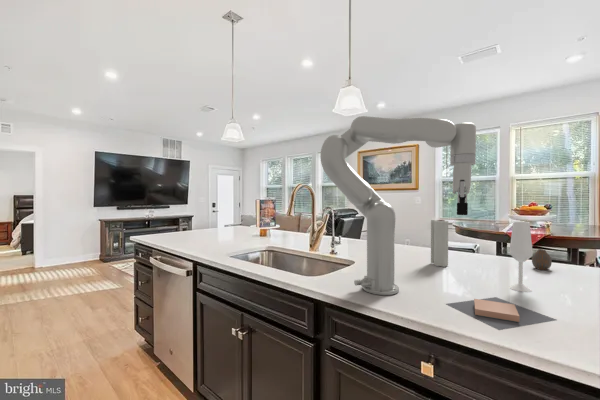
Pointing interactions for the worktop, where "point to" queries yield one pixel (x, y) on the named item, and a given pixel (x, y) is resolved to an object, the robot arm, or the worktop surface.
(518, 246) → the champagne flute
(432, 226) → the grey tall block
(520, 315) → the mat
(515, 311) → the tile
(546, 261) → the patterned egg
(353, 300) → the worktop surface
